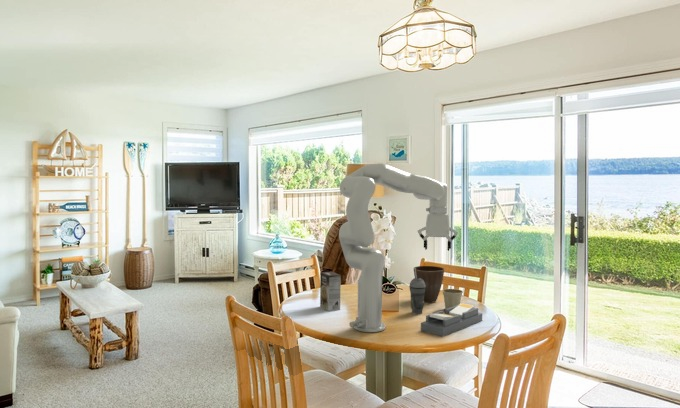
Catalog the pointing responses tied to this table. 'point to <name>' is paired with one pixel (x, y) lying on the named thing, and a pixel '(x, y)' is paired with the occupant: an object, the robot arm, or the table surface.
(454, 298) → the flower pot
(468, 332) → the table surface
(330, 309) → the coffee box
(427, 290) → the plant pot
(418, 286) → the beverage cup
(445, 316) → the inner rocker
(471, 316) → the switch panel
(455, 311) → the outer rocker
